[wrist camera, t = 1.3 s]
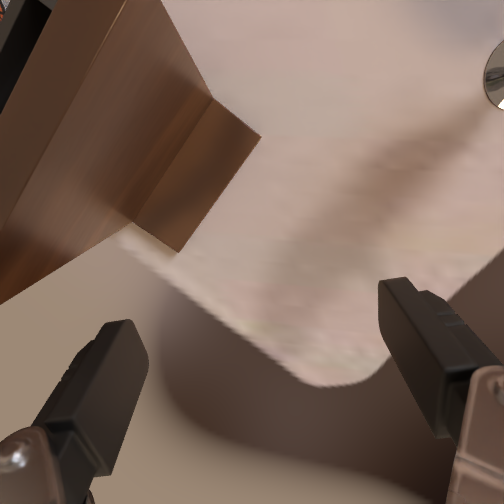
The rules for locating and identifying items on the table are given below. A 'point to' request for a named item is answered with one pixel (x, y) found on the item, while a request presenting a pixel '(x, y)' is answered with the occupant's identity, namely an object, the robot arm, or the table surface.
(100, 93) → the wooden backboard stand
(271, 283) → the table surface
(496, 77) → the wine glass
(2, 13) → the beverage can
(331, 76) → the table surface
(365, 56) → the table surface
